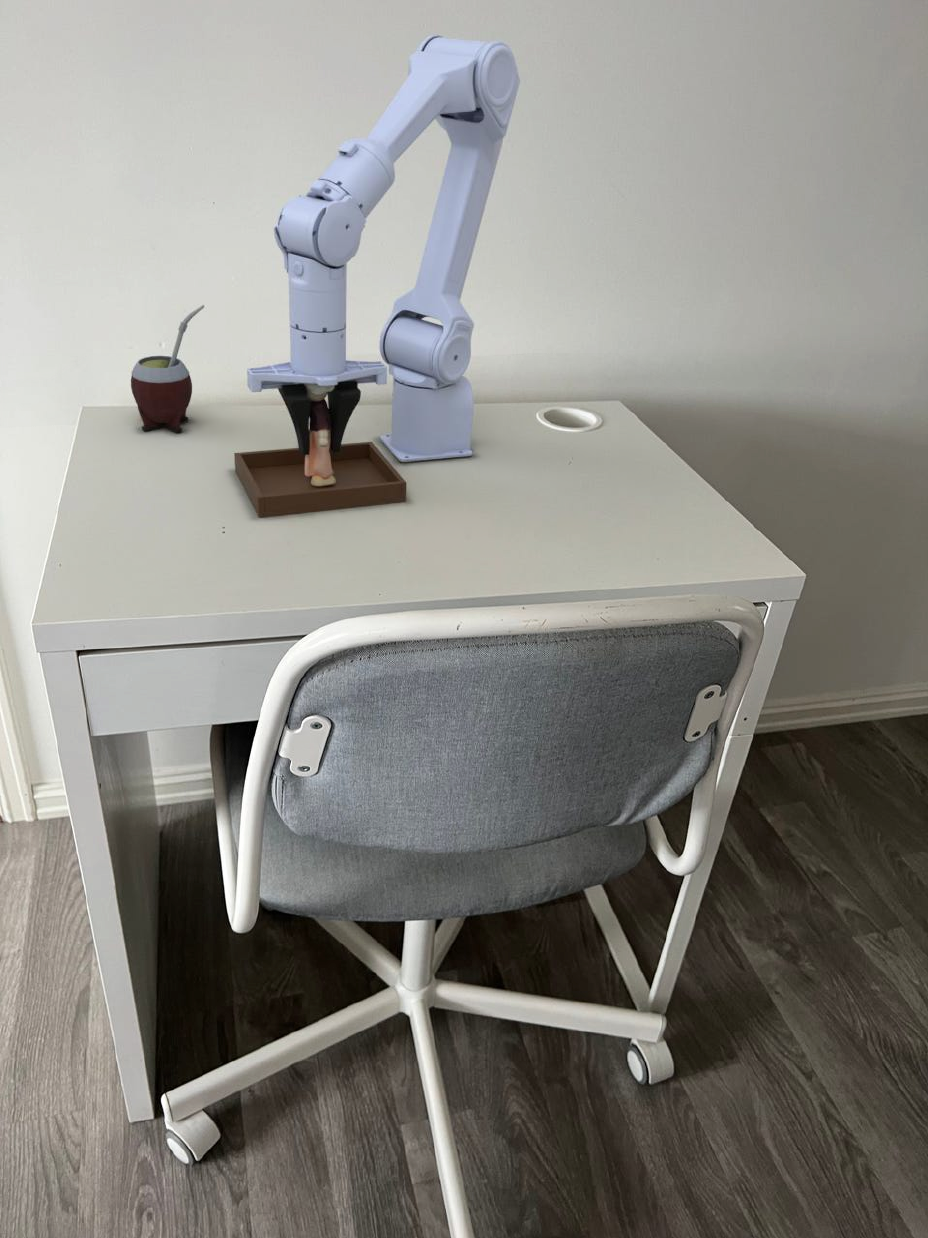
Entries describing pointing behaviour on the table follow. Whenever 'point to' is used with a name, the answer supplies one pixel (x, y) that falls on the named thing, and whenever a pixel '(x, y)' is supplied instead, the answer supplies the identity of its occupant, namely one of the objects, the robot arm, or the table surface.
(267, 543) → the table surface
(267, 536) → the table surface
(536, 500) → the table surface
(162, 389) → the mate gourd
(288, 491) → the tray
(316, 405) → the grandmother figurine
